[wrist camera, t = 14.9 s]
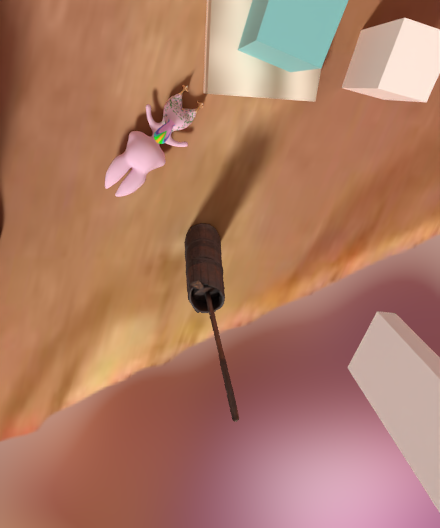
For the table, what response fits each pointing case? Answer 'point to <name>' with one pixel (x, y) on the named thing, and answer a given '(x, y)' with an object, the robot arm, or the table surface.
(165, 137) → the pink animal figurine
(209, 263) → the butter churn
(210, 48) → the birch base
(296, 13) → the teal block
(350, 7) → the table surface
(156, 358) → the table surface
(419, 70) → the off-white block
